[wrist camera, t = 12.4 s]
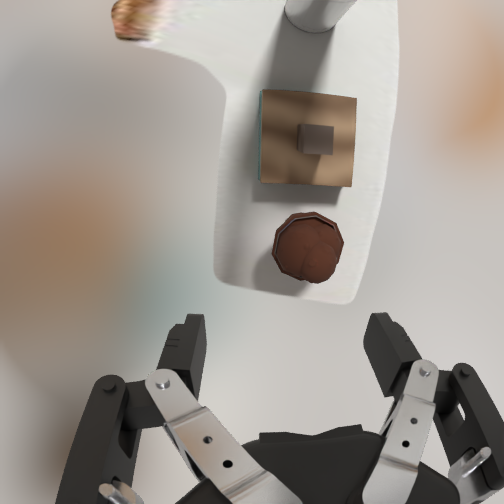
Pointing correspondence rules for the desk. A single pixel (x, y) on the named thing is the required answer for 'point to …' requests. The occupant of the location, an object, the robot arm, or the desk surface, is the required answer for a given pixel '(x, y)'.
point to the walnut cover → (307, 138)
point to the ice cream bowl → (308, 247)
